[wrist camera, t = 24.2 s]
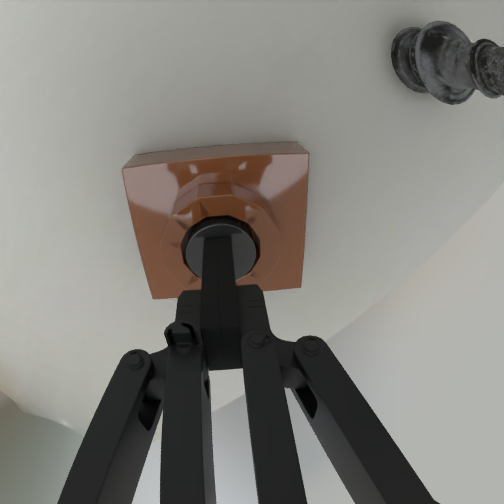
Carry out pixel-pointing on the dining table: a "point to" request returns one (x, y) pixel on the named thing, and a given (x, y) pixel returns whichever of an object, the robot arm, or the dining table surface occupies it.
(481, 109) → the dining table surface
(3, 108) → the dining table surface
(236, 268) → the button
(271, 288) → the brown square base plate
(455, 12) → the dining table surface
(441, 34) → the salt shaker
